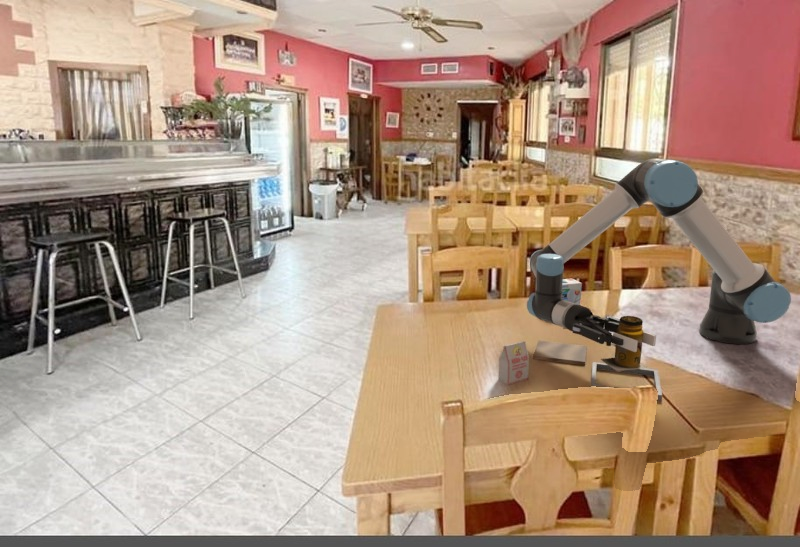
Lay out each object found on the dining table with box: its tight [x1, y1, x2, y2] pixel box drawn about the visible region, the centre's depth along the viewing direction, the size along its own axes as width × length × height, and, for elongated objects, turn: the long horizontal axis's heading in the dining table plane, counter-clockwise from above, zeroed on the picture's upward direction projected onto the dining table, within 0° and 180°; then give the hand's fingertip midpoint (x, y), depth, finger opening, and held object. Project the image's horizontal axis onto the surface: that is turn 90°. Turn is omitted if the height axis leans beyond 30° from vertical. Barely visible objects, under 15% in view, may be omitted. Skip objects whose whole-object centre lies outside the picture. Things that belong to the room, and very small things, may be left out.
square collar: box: [590, 361, 663, 402], centre depth 137 cm, size 16×15×2 cm
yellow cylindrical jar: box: [600, 315, 648, 372], centre depth 134 cm, size 7×8×12 cm
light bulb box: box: [562, 278, 583, 305], centre depth 192 cm, size 11×7×11 cm, turn 104°
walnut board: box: [532, 340, 588, 366], centre depth 156 cm, size 14×12×1 cm
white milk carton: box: [498, 340, 530, 386], centre depth 139 cm, size 4×7×10 cm, turn 118°
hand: (645, 343), depth 130 cm, fingers closed on yellow cylindrical jar, 6 cm apart
